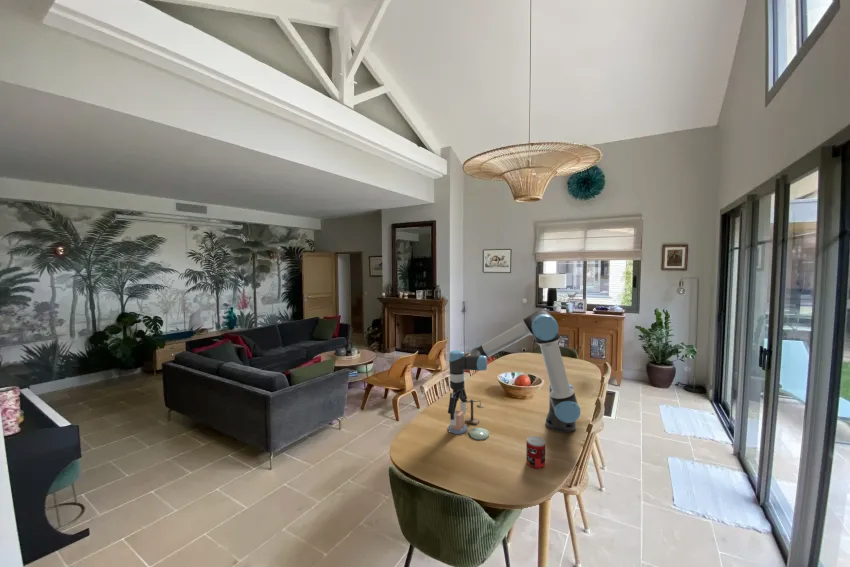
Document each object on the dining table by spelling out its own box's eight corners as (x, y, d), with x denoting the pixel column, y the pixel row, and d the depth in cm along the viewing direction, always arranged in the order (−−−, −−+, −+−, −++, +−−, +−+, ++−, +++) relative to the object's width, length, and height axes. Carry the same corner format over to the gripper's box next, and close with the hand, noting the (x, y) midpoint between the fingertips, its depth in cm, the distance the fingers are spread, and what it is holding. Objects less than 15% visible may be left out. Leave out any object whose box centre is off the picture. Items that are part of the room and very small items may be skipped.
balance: (485, 423, 194) (484, 399, 193) (482, 426, 191) (482, 402, 189) (462, 418, 200) (461, 394, 199) (459, 421, 197) (459, 397, 196)
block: (463, 426, 189) (463, 411, 188) (460, 430, 184) (460, 415, 184) (455, 424, 191) (454, 410, 190) (451, 428, 187) (451, 414, 186)
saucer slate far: (469, 427, 190) (469, 425, 190) (462, 436, 181) (462, 433, 181) (452, 423, 194) (452, 421, 194) (445, 431, 186) (445, 429, 186)
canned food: (523, 459, 160) (523, 436, 159) (540, 458, 160) (541, 435, 159) (530, 470, 152) (530, 445, 151) (548, 468, 153) (548, 444, 152)
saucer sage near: (491, 432, 184) (491, 430, 184) (485, 441, 175) (485, 439, 175) (473, 428, 189) (473, 426, 189) (466, 437, 180) (466, 434, 180)
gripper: (459, 371, 198) (460, 408, 200) (440, 387, 176) (441, 428, 178) (472, 373, 194) (473, 410, 196) (454, 390, 172) (455, 431, 174)
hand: (458, 419), depth 187 cm, fingers open, 13 cm apart
